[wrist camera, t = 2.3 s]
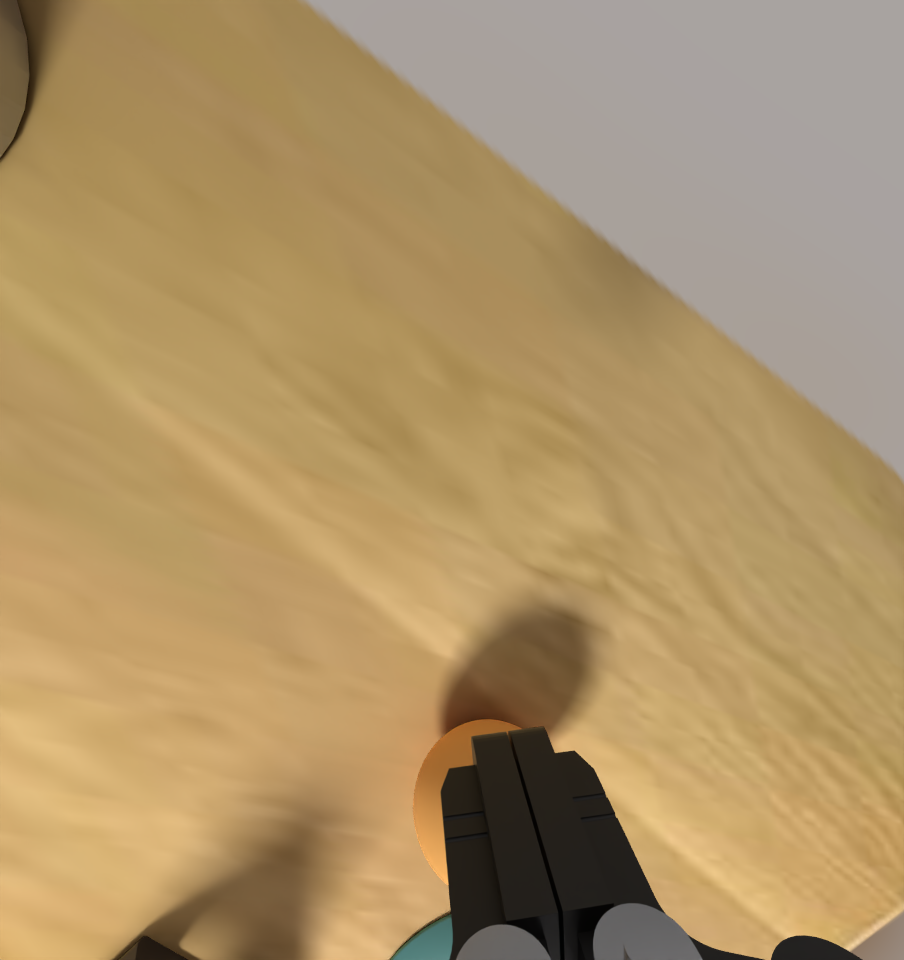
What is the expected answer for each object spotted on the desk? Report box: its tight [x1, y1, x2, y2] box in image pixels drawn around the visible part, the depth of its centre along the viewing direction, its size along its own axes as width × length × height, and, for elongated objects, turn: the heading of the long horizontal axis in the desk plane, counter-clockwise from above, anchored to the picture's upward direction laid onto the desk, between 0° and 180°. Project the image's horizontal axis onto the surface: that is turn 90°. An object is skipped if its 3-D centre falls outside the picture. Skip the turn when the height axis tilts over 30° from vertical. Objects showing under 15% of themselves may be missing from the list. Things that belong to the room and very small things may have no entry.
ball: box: [413, 719, 521, 886], centre depth 20 cm, size 6×6×6 cm
